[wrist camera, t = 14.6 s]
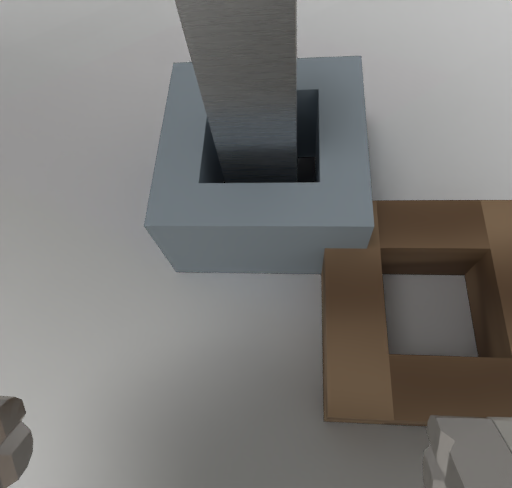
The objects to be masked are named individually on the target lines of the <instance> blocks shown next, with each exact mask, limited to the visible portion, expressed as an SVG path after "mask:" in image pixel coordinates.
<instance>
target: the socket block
mask: <svg viewBox="0 0 512 488" xmlns="http://www.w3.org/2000/svg"><path fill="white" fill-rule="evenodd" d="M372 203H373V216H374V229H373V232H372V235H371V237H370V240H369V243H368V246H367V249H355V248H325V250H324V258H323V265H322V273H321V285H322V347H323V409H324V421H326V422H347V423H367V424H387V425H408V426H427V423H428V419H429V417H430V415H442V416H469V417H512V200H398V201H372ZM382 274H422V275H465V280H466V286H467V292H468V298H469V304H470V310H471V316H472V322H473V328H474V334H475V340H476V346H477V352H478V357H461V356H430V355H400V354H389V351H388V339H387V326H386V314H385V301H384V289H383V277H382Z"/></svg>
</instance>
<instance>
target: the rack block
mask: <svg viewBox="0 0 512 488" xmlns="http://www.w3.org/2000/svg"><path fill="white" fill-rule="evenodd" d="M297 157H315V182H305V183H224V176H223V172H222V169H221V165H220V161H219V158H218V154H217V151H216V147H215V143H214V140H213V136H212V133H211V129H210V125H209V122H208V118H207V114H206V111H205V107H204V104H203V100H202V96H201V93H200V89H199V86H198V82H197V78H196V75H195V71H194V67H193V64H192V62H183V63H174V64H173V69H172V75H171V80H170V86H169V91H168V97H167V102H166V108H165V113H164V119H163V124H162V130H161V135H160V141H159V146H158V152H157V157H156V163H155V168H154V174H153V179H152V185H151V190H150V196H149V201H148V207H147V212H146V218H145V223H144V227H145V228H146V230H147V231H148V232H149V234H150V235H151V237H152V238H153V240H154V241H155V242H156V244H157V245H158V247H159V248H160V249H161V251H162V252H163V254H164V255H165V257H166V258H167V259H168V261H169V262H170V264H171V265H172V267H173V268H174V269H175V271H176V272H220V273H292V274H321V273H322V265H323V258H324V250H325V248H355V249H367V246H368V243H369V240H370V237H371V235H372V232H373V229H374V216H373V203H372V190H371V177H370V164H369V151H368V138H367V125H366V112H365V98H364V85H363V72H362V59H361V56H343V57H316V58H297Z"/></svg>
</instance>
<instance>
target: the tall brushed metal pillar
mask: <svg viewBox="0 0 512 488" xmlns="http://www.w3.org/2000/svg"><path fill="white" fill-rule="evenodd" d="M175 2H176V6H177V10H178V13H179V17H180V20H181V24H182V28H183V31H184V35H185V39H186V42H187V46H188V49H189V53H190V57H191V60H192V64H193V67H194V71H195V75H196V78H197V82H198V86H199V89H200V93H201V96H202V100H203V104H204V107H205V111H206V114H207V118H208V122H209V125H210V129H211V133H212V136H213V140H214V143H215V147H216V151H217V154H218V158H219V161H220V165H221V169H222V172H223V176H224V180H225V183H297V0H175Z"/></svg>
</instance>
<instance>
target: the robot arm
mask: <svg viewBox="0 0 512 488" xmlns="http://www.w3.org/2000/svg"><path fill="white" fill-rule="evenodd" d="M25 414H26V411H25V408H24V405H23V401H22V400H21V399H19V398H16V397H11V396H0V488H7V487H8V486H10V485H11V484H13V483H14V482H16V481H17V480H19V478H20V477H21V475H22V474H23V472H24V471H25V470H26V468H27V466H28V464H29V461H30V458H31V455H32V452H33V437H32V433H31V430H30V429H29V428H28V427H27V426H26V425H25V424H24V423H23V422H22V419H23V418H24V416H25ZM426 433H427V436H428V439H429V441H430V444H431V445H430V446H428V447H427V448H426V449H425V450H424V453H423V464H422V467H423V482H424V487H425V488H512V417H469V416H442V415H430V417H429V419H428V423H427V430H426Z"/></svg>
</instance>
